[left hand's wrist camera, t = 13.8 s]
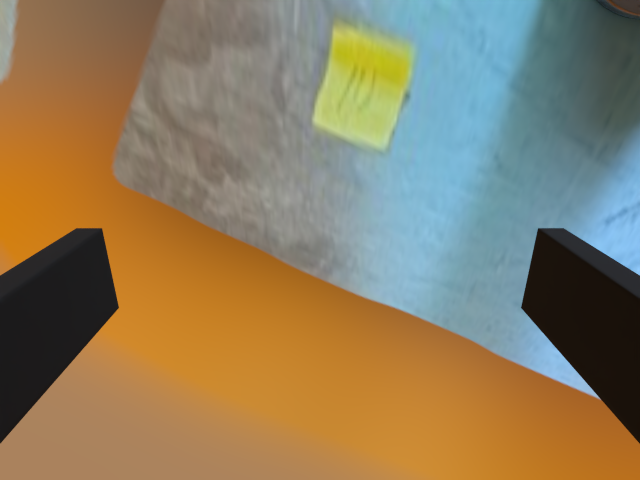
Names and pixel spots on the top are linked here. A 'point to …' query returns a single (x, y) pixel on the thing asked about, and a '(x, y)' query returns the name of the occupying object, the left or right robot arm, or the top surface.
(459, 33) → the top surface
